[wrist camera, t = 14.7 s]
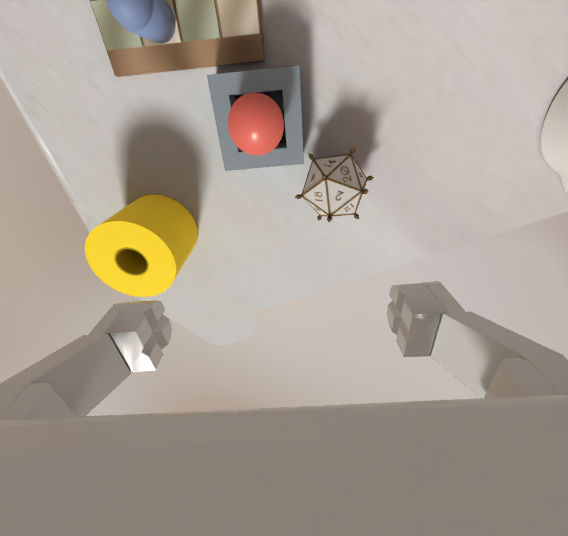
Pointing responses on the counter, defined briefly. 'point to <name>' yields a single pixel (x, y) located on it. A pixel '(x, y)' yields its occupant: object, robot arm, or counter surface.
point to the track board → (186, 37)
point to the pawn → (145, 18)
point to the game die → (334, 185)
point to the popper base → (259, 82)
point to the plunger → (255, 123)
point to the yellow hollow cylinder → (142, 245)
